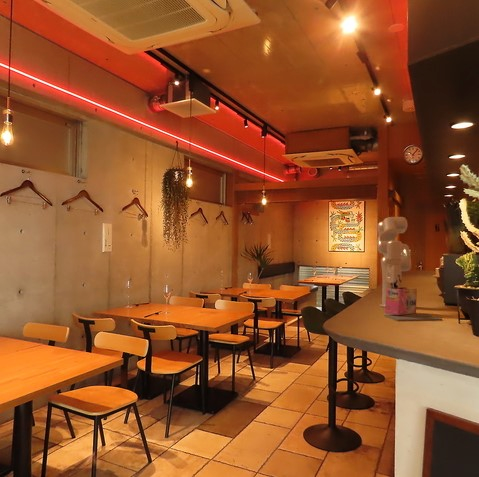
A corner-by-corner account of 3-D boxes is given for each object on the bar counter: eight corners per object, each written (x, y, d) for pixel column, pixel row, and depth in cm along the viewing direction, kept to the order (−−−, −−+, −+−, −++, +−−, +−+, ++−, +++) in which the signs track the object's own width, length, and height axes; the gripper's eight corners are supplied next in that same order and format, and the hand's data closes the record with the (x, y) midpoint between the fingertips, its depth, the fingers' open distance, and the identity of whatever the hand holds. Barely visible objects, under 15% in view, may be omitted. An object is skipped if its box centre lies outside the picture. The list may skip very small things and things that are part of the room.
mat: (384, 316, 219) (384, 314, 219) (426, 315, 222) (426, 314, 222) (397, 321, 205) (397, 319, 205) (442, 320, 208) (442, 318, 208)
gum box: (403, 310, 236) (404, 287, 237) (417, 313, 231) (418, 288, 231) (384, 313, 219) (385, 287, 220) (398, 315, 214) (400, 289, 214)
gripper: (381, 262, 240) (381, 293, 239) (394, 263, 225) (394, 296, 225) (393, 262, 241) (393, 293, 240) (407, 263, 226) (407, 296, 226)
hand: (394, 295), depth 232 cm, fingers closed
